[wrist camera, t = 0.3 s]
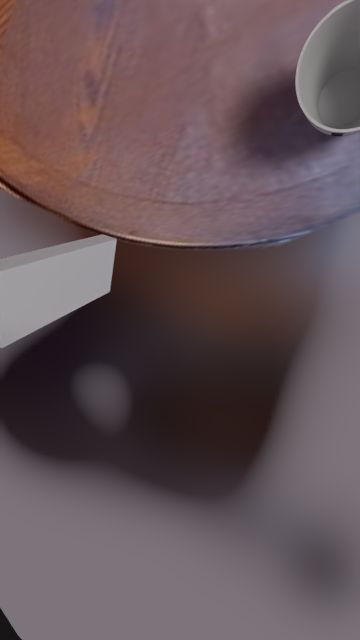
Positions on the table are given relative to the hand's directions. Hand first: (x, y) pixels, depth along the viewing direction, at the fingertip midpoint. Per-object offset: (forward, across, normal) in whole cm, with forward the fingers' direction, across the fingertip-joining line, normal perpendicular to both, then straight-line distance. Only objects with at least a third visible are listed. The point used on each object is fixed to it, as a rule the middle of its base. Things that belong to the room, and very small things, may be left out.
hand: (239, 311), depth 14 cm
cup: (+28, +1, +13) cm, 31 cm away
